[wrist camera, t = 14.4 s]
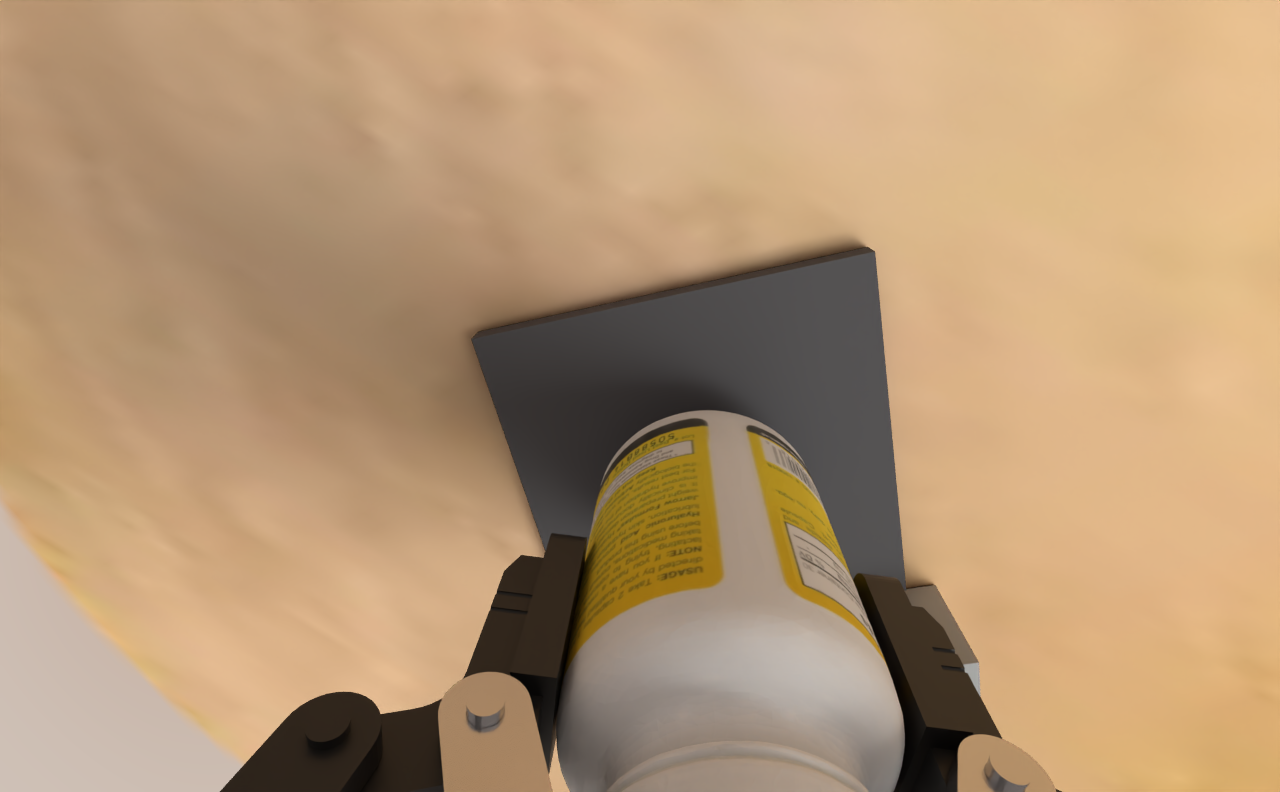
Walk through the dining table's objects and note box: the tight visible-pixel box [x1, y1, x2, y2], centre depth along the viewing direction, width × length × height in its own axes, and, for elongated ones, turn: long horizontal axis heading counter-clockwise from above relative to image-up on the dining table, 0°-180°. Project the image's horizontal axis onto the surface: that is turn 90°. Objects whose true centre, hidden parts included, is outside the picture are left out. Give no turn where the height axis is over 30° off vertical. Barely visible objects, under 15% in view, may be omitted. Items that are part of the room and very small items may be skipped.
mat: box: [471, 247, 906, 591], centre depth 18 cm, size 10×10×1 cm
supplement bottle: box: [556, 410, 905, 792], centre depth 12 cm, size 5×5×10 cm
